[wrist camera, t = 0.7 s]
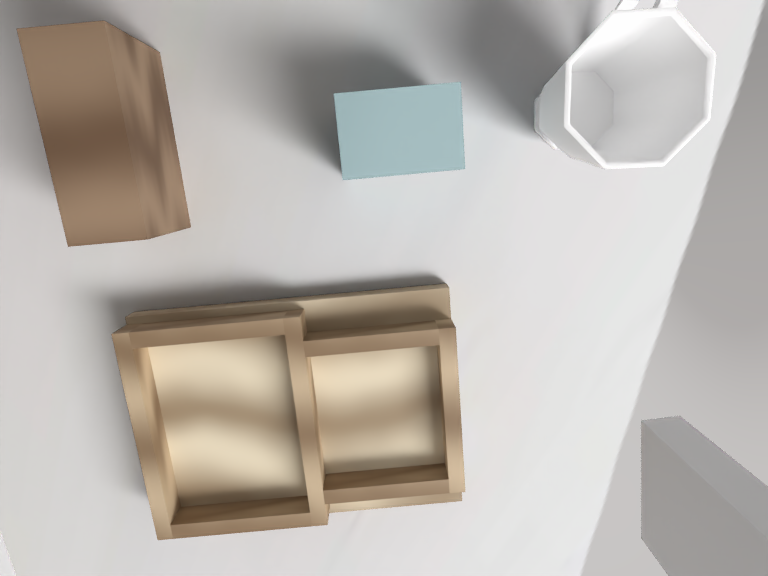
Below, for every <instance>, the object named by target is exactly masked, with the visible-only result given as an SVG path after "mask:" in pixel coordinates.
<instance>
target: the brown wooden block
mask: <svg viewBox="0 0 768 576" xmlns="http://www.w3.org/2000/svg"><path fill="white" fill-rule="evenodd" d="M17 33H18V37H19V41H20V45H21V50H22V54H23V58H24V62H25V67H26V71H27V75H28V79H29V83H30V88H31V92H32V96H33V100H34V105H35V109H36V113H37V117H38V122H39V126H40V130H41V134H42V138H43V143H44V147H45V151H46V155H47V160H48V164H49V168H50V172H51V177H52V181H53V185H54V189H55V193H56V198H57V202H58V206H59V210H60V215H61V219H62V223H63V227H64V232H65V236H66V240H67V244H68V247H70V246H81V245H92V244H102V243H113V242H124V241H135V240H146V239H151V238H154V237H158V236H161V235H165V234H169V233H172V232H176V231H179V230H183V229H186V228H190V227H191V225H190V219H189V214H188V208H187V203H186V197H185V191H184V186H183V180H182V174H181V169H180V163H179V158H178V152H177V146H176V141H175V135H174V129H173V124H172V118H171V113H170V107H169V101H168V96H167V90H166V84H165V79H164V73H163V68H162V62H161V56H160V52H158V51H157V50H155V49H153V48H151V47H150V46H148V45H146V44H144V43H143V42H141V41H139V40H137V39H136V38H134V37H132V36H130V35H129V34H127V33H125V32H123V31H122V30H120V29H118V28H116V27H115V26H113V25H111V24H109V23H108V22H106V21H94V22H83V23H72V24H61V25H51V26H40V27H29V28H18V29H17Z"/></svg>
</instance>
